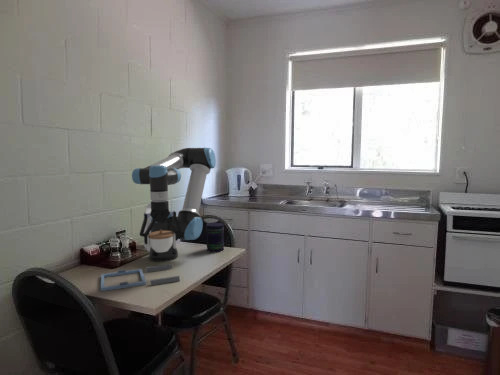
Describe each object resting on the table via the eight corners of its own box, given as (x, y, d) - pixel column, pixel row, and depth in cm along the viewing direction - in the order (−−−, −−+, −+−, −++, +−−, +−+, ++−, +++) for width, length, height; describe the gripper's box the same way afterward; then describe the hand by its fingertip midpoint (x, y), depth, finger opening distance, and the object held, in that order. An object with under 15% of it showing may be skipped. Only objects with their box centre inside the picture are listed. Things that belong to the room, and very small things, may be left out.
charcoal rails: (171, 267, 163) (171, 263, 163) (179, 281, 147) (179, 276, 146) (146, 271, 159) (145, 267, 159) (150, 285, 142) (150, 280, 142)
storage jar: (208, 247, 198) (207, 222, 197) (225, 247, 198) (224, 222, 196) (205, 252, 188) (204, 226, 187) (223, 252, 188) (222, 226, 186)
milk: (145, 249, 195) (143, 204, 192) (143, 244, 206) (141, 202, 203) (166, 247, 200) (165, 203, 197) (163, 242, 210) (162, 200, 208)
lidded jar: (145, 249, 153) (144, 229, 152) (168, 245, 159) (167, 225, 158) (154, 255, 144) (153, 234, 143) (177, 251, 151) (177, 230, 149)
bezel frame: (141, 271, 159) (141, 267, 159) (145, 284, 143) (145, 279, 143) (101, 276, 152) (101, 272, 152) (100, 291, 136) (100, 286, 136)
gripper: (132, 203, 141) (135, 255, 144) (187, 199, 150) (189, 248, 153) (131, 201, 148) (133, 250, 151) (183, 197, 157) (185, 243, 160)
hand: (161, 249), depth 152 cm, fingers closed on lidded jar, 11 cm apart
